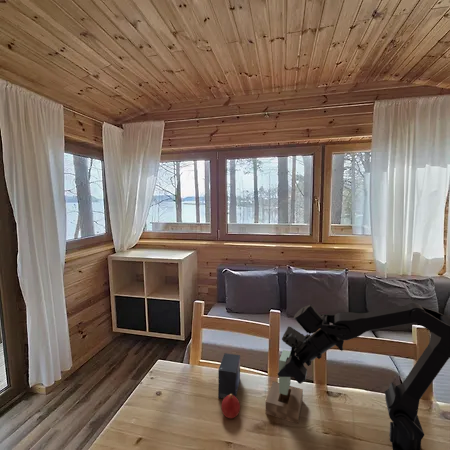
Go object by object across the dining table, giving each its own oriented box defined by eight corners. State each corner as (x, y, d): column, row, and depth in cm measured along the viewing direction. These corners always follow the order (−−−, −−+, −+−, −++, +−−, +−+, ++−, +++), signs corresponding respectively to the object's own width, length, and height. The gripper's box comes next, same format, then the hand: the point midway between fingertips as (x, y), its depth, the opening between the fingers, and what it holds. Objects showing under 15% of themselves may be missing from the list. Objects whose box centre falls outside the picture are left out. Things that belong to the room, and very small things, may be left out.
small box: (236, 401, 90) (236, 372, 89) (217, 398, 92) (217, 370, 91) (240, 380, 101) (240, 354, 100) (224, 378, 102) (223, 352, 101)
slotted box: (302, 403, 89) (302, 389, 89) (298, 426, 80) (298, 411, 80) (272, 394, 93) (273, 381, 93) (265, 416, 84) (265, 401, 84)
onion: (217, 417, 84) (217, 393, 83) (231, 407, 88) (230, 384, 87) (230, 428, 80) (230, 403, 79) (243, 418, 83) (243, 394, 83)
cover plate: (290, 383, 88) (290, 351, 87) (287, 395, 83) (287, 361, 82) (282, 381, 89) (283, 349, 88) (279, 393, 84) (279, 360, 83)
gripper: (302, 310, 91) (270, 335, 96) (293, 336, 74) (255, 364, 79) (326, 337, 88) (292, 360, 94) (323, 370, 71) (281, 397, 77)
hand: (280, 369), depth 86 cm, fingers closed on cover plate, 6 cm apart
